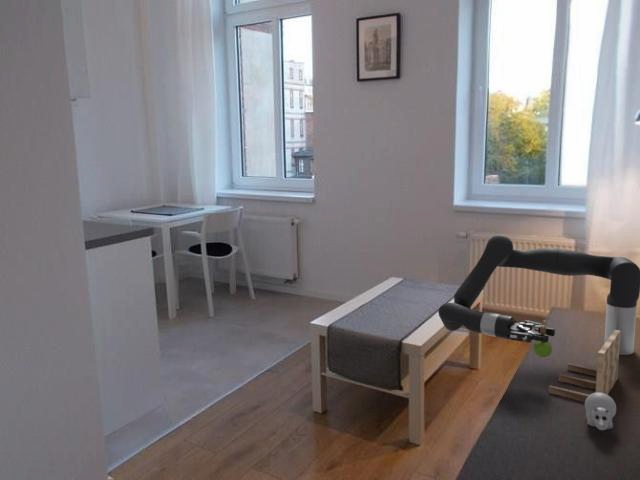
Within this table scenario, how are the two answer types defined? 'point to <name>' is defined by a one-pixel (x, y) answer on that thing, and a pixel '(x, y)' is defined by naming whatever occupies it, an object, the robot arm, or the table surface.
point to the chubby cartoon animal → (600, 410)
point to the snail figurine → (542, 343)
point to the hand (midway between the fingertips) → (551, 335)
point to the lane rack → (594, 372)
